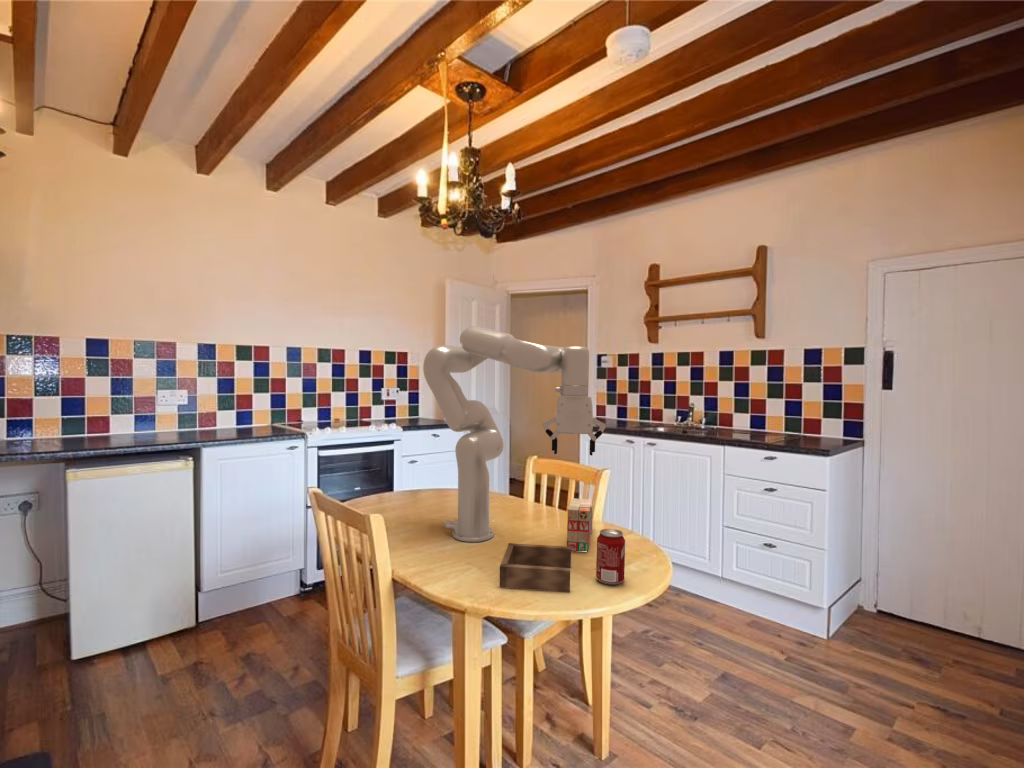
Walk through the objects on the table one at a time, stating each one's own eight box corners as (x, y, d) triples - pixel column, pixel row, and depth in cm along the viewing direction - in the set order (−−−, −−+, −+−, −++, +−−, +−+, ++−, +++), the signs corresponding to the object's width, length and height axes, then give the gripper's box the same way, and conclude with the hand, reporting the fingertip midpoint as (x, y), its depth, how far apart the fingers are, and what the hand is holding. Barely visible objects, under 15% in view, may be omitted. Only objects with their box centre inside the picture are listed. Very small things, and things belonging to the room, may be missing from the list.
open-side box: (499, 587, 121) (499, 566, 121) (508, 561, 137) (508, 543, 137) (569, 592, 119) (570, 570, 119) (570, 565, 135) (571, 546, 135)
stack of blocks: (572, 528, 167) (573, 490, 166) (592, 530, 165) (593, 492, 165) (566, 551, 146) (567, 508, 145) (588, 553, 144) (589, 510, 144)
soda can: (618, 588, 121) (619, 538, 121) (591, 582, 125) (592, 533, 124) (627, 579, 127) (629, 531, 127) (602, 572, 131) (603, 526, 130)
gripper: (541, 391, 138) (540, 455, 138) (607, 393, 135) (606, 457, 136) (543, 390, 145) (542, 450, 146) (605, 391, 143) (604, 453, 143)
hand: (573, 454), depth 141 cm, fingers open, 9 cm apart
